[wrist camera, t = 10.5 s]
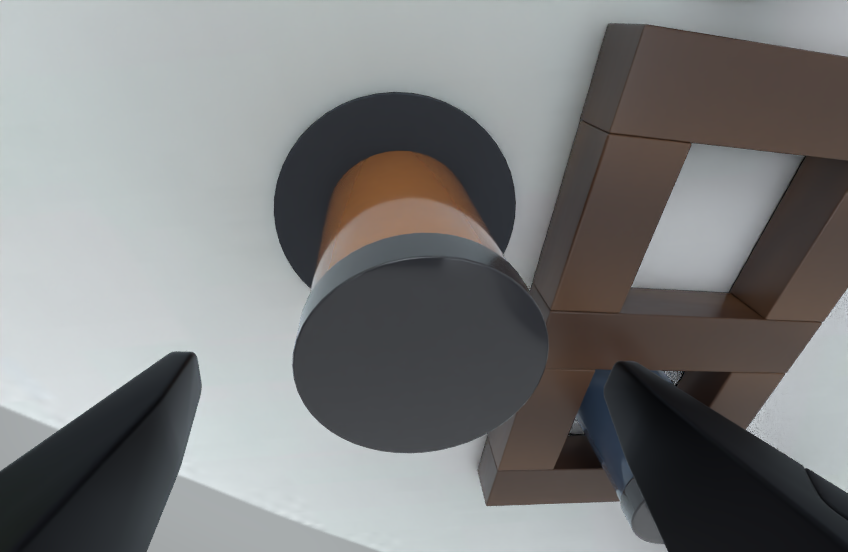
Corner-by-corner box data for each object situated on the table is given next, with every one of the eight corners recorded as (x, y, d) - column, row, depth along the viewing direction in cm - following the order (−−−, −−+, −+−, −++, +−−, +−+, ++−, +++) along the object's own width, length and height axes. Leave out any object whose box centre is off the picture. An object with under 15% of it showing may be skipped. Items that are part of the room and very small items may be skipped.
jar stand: (673, 466, 27) (696, 499, 25) (476, 470, 25) (485, 507, 23) (923, 73, 16) (997, 81, 14) (608, 23, 14) (645, 23, 12)
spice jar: (641, 424, 25) (721, 541, 19) (556, 424, 24) (613, 547, 18) (679, 354, 22) (784, 466, 17) (585, 351, 21) (662, 468, 16)
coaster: (487, 317, 20) (489, 323, 19) (279, 310, 18) (278, 315, 18) (538, 108, 15) (542, 110, 15) (269, 75, 14) (267, 77, 13)
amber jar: (459, 289, 18) (516, 452, 11) (322, 282, 17) (294, 455, 10) (486, 155, 15) (582, 264, 9) (324, 138, 15) (288, 247, 8)
